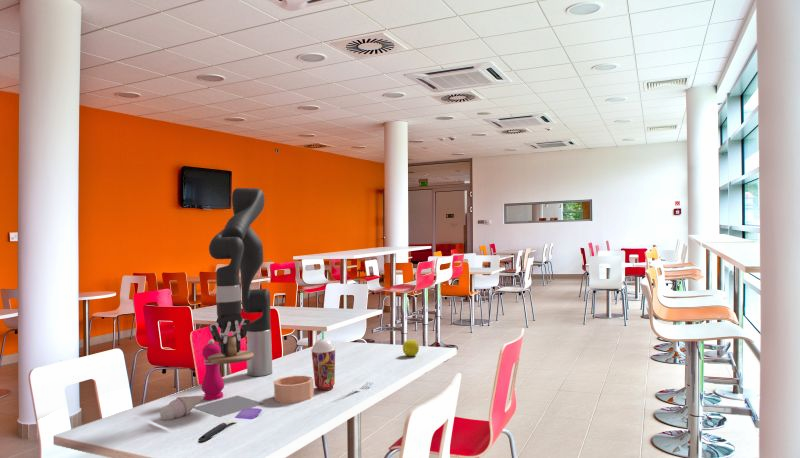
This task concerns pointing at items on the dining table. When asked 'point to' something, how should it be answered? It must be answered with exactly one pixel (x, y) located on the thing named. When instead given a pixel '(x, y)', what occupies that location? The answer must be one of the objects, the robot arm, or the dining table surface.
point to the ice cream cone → (179, 407)
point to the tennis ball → (410, 348)
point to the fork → (353, 391)
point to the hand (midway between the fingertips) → (230, 353)
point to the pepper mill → (212, 374)
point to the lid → (231, 354)
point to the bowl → (293, 389)
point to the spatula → (244, 414)
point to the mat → (228, 406)
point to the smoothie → (324, 364)
